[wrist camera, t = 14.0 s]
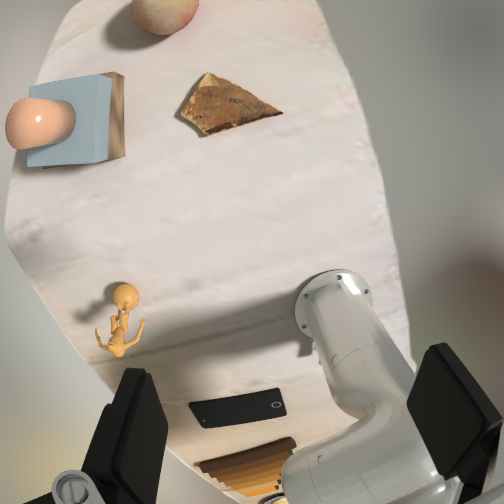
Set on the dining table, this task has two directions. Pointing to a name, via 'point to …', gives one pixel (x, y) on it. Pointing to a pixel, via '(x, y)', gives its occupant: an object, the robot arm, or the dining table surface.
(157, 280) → the dining table surface
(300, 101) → the dining table surface
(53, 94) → the top block
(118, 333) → the figurine
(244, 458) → the pan flute
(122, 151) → the bottom block
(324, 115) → the dining table surface
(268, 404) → the cell phone
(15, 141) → the terracotta cylinder
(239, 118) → the shard
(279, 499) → the food plate
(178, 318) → the dining table surface
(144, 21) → the fruit
